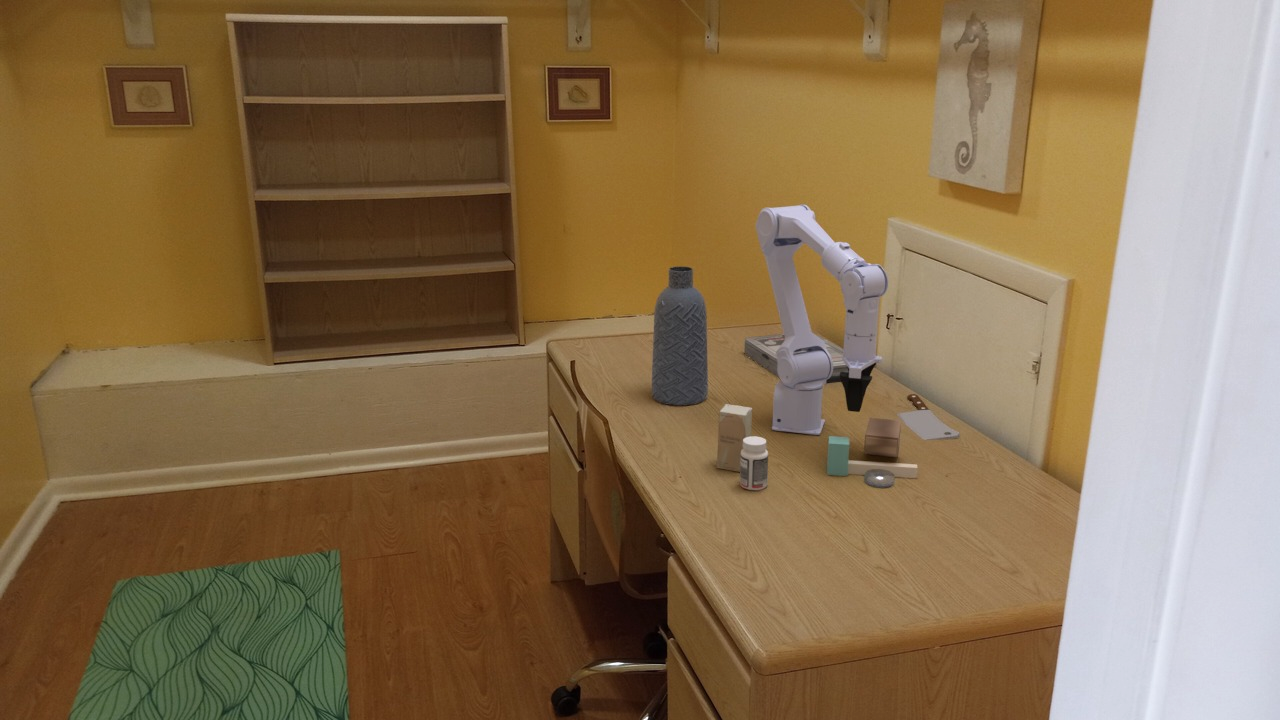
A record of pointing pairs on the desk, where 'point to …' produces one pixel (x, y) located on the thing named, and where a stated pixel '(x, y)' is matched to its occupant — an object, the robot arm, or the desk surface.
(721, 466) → the box
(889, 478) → the disc
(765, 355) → the board game box
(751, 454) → the pill bottle
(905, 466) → the teal toy mallet
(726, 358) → the desk surface
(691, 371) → the vase
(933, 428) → the kitchen cleaver
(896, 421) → the cabinet
